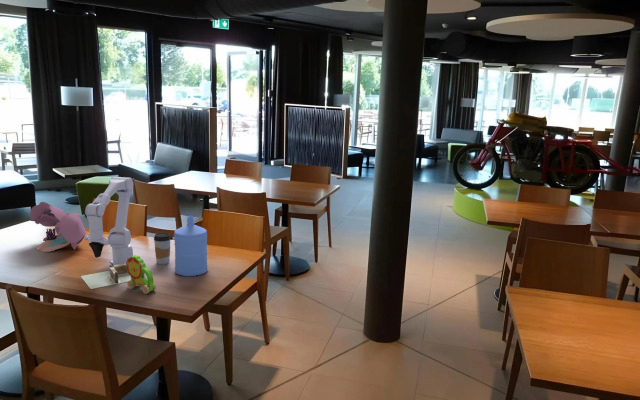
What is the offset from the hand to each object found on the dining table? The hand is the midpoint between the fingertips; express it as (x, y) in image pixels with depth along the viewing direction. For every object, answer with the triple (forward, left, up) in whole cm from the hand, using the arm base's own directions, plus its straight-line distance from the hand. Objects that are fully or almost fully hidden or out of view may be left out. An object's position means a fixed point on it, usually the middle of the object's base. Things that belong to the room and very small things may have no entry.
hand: (97, 256), depth 228 cm
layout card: (-5, +5, -10) cm, 12 cm away
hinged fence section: (-5, +9, -9) cm, 13 cm away
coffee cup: (-32, -2, -10) cm, 33 cm away
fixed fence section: (-10, +3, -10) cm, 14 cm away
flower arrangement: (+7, -56, -10) cm, 57 cm away
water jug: (-39, +17, -10) cm, 43 cm away
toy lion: (-11, +25, -10) cm, 29 cm away
